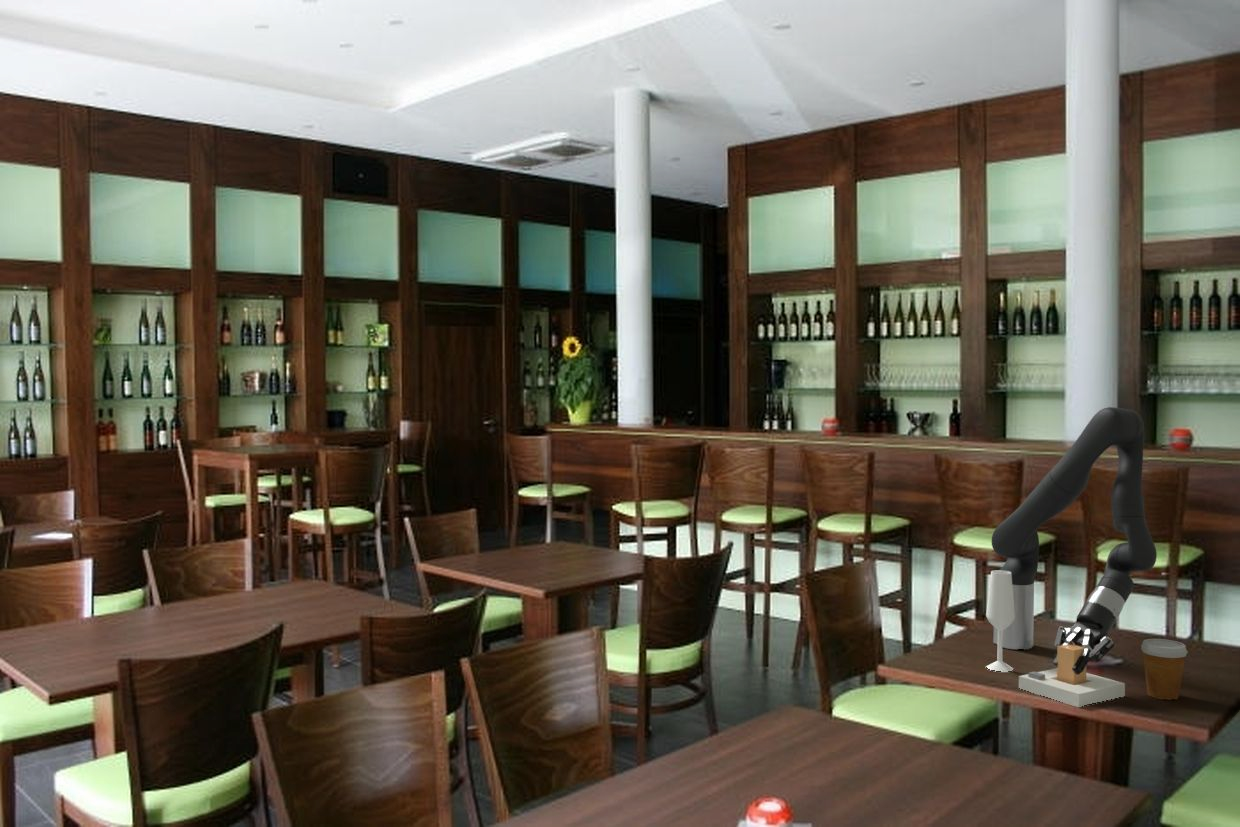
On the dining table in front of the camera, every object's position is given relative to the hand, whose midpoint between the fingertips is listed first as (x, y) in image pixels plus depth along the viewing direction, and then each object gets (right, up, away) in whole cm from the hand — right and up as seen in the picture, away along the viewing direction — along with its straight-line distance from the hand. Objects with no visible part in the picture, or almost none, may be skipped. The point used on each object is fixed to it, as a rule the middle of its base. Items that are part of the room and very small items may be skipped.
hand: (1066, 669), depth 247 cm
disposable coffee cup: (+21, -6, -1) cm, 22 cm away
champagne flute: (-8, -5, +21) cm, 23 cm away
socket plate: (+2, -6, +1) cm, 6 cm away
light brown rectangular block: (+2, -4, +1) cm, 5 cm away
